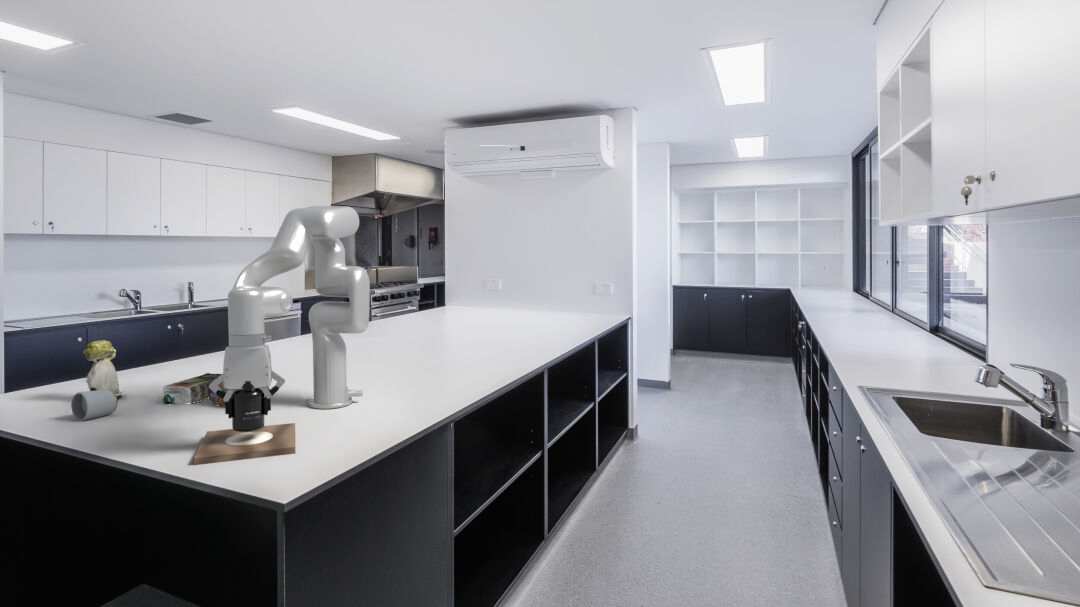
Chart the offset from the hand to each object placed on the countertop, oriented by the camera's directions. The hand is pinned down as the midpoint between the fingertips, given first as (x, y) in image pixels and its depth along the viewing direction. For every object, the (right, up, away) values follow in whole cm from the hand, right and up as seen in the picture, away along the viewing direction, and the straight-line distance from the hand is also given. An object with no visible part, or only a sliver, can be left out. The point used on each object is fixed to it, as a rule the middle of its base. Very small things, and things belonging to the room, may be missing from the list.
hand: (248, 414), depth 132 cm
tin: (-24, -5, +35) cm, 43 cm away
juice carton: (-40, -4, +46) cm, 61 cm away
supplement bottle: (0, -4, 0) cm, 4 cm away
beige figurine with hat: (-67, -4, +40) cm, 78 cm away
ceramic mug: (-55, -5, +22) cm, 59 cm away
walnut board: (0, -7, +1) cm, 7 cm away
